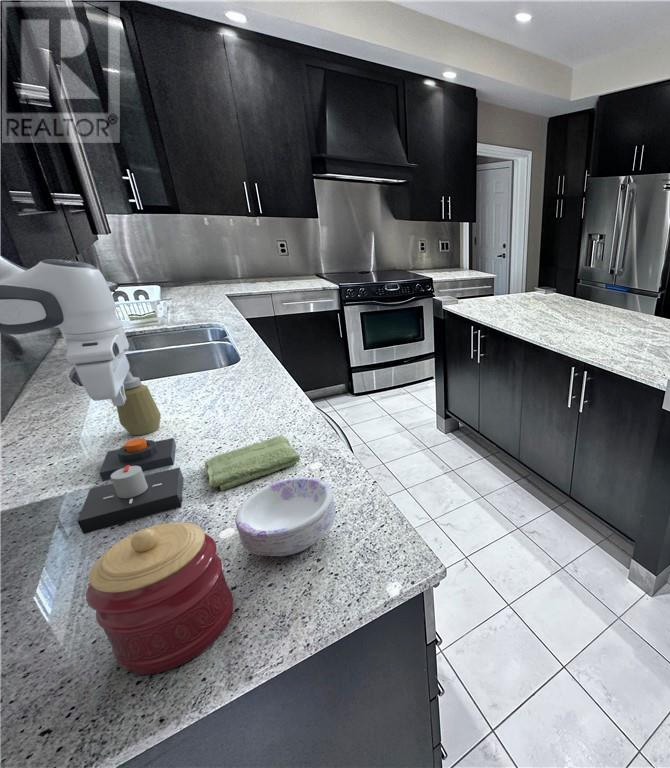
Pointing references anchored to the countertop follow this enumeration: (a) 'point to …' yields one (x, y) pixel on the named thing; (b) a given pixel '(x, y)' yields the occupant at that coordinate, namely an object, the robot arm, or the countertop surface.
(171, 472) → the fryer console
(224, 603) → the kitchen canister
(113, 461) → the button block
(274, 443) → the washcloth
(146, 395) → the squeeze bottle
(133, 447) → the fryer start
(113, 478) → the timer dial
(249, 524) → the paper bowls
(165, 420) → the countertop surface
